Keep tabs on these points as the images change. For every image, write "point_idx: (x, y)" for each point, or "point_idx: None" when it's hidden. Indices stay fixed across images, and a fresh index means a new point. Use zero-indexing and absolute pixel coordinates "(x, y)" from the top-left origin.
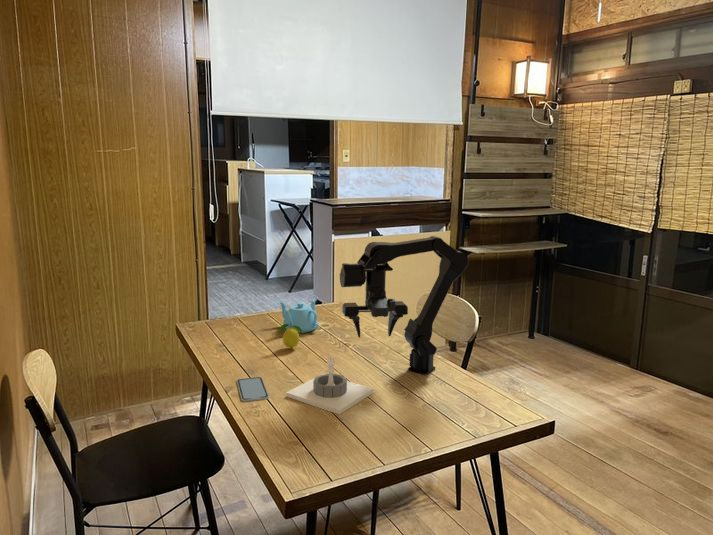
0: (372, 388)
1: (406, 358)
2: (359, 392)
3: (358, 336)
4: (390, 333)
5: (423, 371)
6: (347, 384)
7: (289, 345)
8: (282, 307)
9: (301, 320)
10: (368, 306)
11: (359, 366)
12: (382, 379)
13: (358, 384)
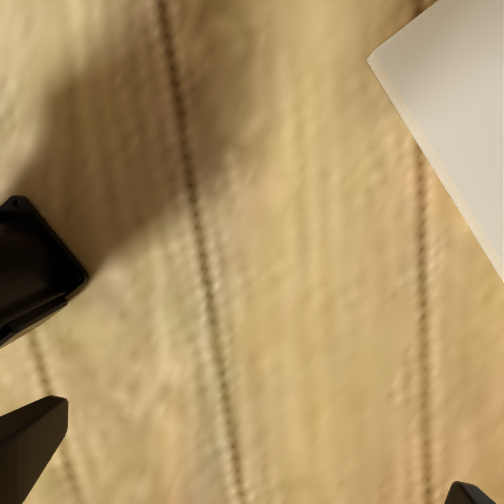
0: (376, 57)
1: None
2: (479, 19)
3: (489, 499)
4: (20, 416)
5: (22, 220)
6: (490, 161)
7: None
8: None
9: None
10: None
11: (297, 396)
12: (249, 216)
13: (430, 140)
